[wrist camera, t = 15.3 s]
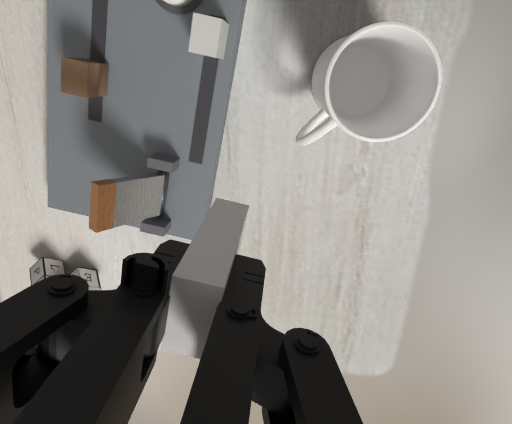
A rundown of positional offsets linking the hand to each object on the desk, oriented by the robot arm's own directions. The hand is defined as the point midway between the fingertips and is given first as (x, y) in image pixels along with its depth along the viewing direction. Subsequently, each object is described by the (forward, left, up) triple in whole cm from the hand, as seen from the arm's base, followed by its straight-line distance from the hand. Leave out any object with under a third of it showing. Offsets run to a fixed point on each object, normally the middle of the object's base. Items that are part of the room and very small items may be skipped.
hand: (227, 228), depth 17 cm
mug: (-6, +7, -25) cm, 27 cm away
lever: (+8, -9, -22) cm, 25 cm away
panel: (-1, -13, -25) cm, 28 cm away
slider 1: (-3, -17, -22) cm, 28 cm away
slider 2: (-8, -6, -22) cm, 24 cm away
